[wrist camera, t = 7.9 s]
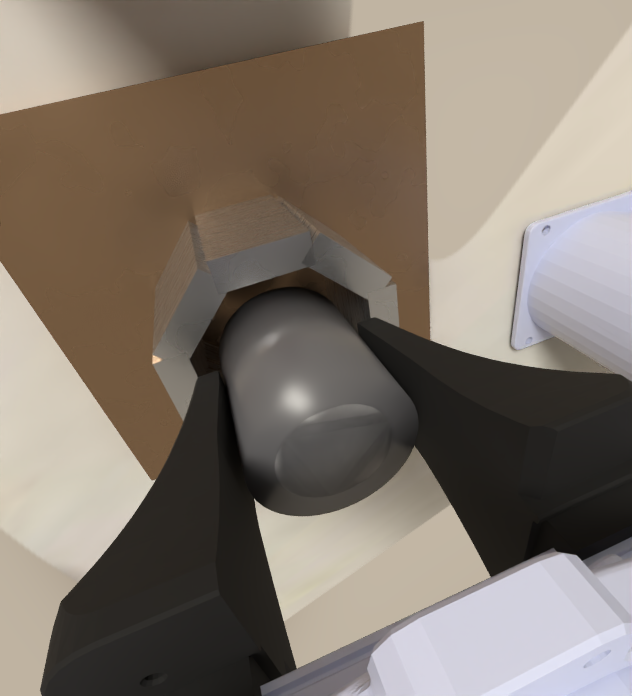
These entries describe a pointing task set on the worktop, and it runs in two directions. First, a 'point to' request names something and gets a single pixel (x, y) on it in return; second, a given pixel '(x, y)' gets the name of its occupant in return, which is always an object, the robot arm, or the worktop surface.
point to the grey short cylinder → (311, 405)
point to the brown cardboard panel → (217, 213)
